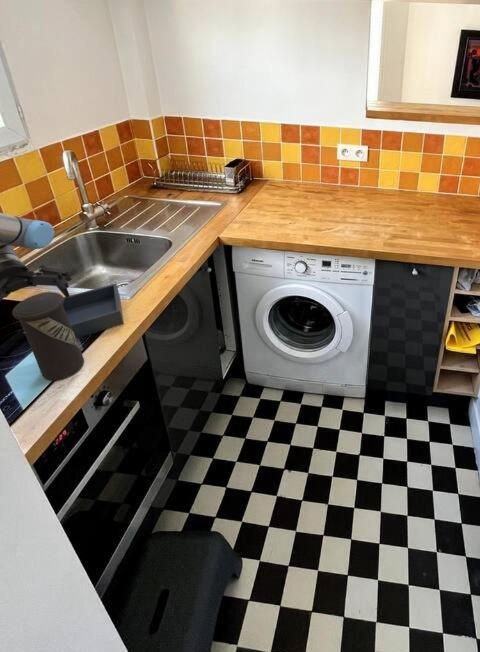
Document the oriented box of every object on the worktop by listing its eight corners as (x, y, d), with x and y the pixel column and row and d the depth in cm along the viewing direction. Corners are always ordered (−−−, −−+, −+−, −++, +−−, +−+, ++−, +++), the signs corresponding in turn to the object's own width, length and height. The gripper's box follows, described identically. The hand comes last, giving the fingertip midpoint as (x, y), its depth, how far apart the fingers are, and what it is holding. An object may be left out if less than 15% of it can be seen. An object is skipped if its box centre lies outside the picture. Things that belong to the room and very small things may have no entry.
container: (69, 383, 89) (42, 314, 81) (31, 381, 89) (-1, 313, 81) (94, 354, 97) (71, 289, 88) (58, 353, 97) (32, 287, 89)
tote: (58, 344, 100) (53, 330, 98) (61, 311, 111) (56, 299, 109) (123, 323, 107) (120, 310, 105) (119, 295, 118) (116, 283, 116)
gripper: (66, 264, 115) (95, 294, 103) (-50, 306, 97) (-31, 348, 85) (59, 242, 112) (87, 270, 100) (-63, 282, 94) (-45, 321, 82)
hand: (33, 306), depth 93 cm, fingers open, 13 cm apart
